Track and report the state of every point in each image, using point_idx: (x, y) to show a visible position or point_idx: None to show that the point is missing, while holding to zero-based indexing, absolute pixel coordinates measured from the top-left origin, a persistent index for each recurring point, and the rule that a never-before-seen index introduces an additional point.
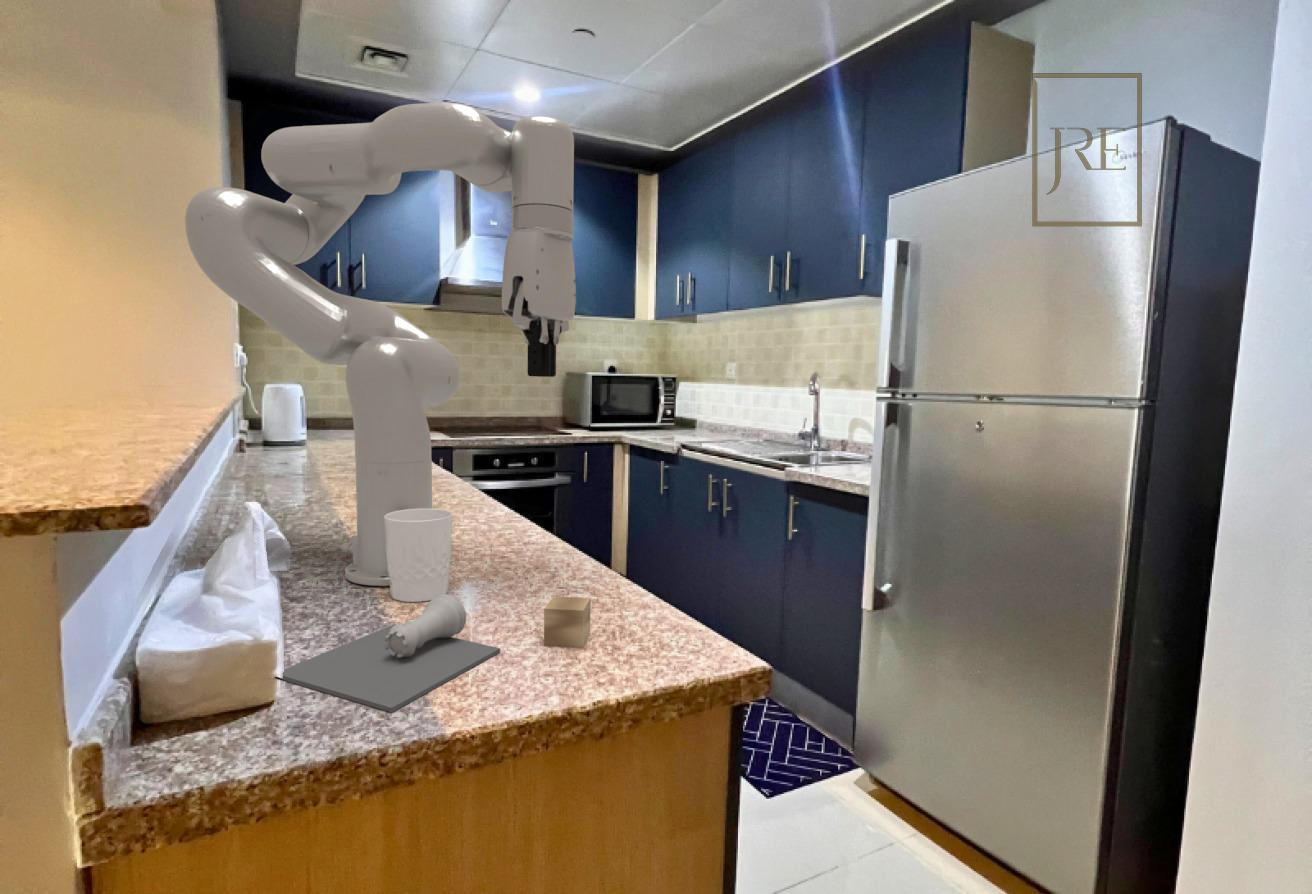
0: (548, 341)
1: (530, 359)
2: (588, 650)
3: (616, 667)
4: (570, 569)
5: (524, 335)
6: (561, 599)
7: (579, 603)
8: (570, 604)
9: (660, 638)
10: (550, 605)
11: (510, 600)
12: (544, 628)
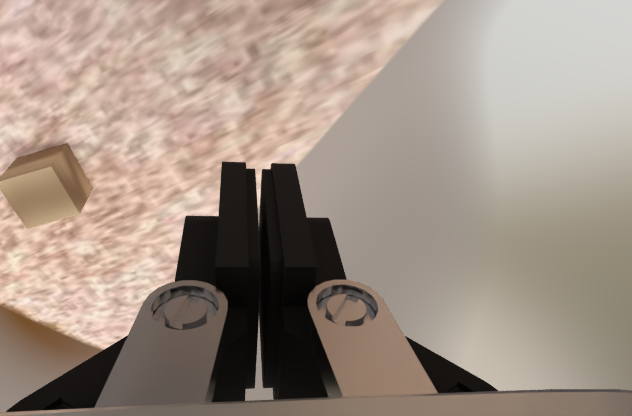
0: (278, 392)
1: (184, 244)
2: None
3: (23, 255)
4: (366, 7)
5: (132, 329)
6: (45, 183)
7: (49, 212)
8: (36, 204)
9: (131, 261)
10: (13, 183)
11: (144, 4)
12: (7, 169)
